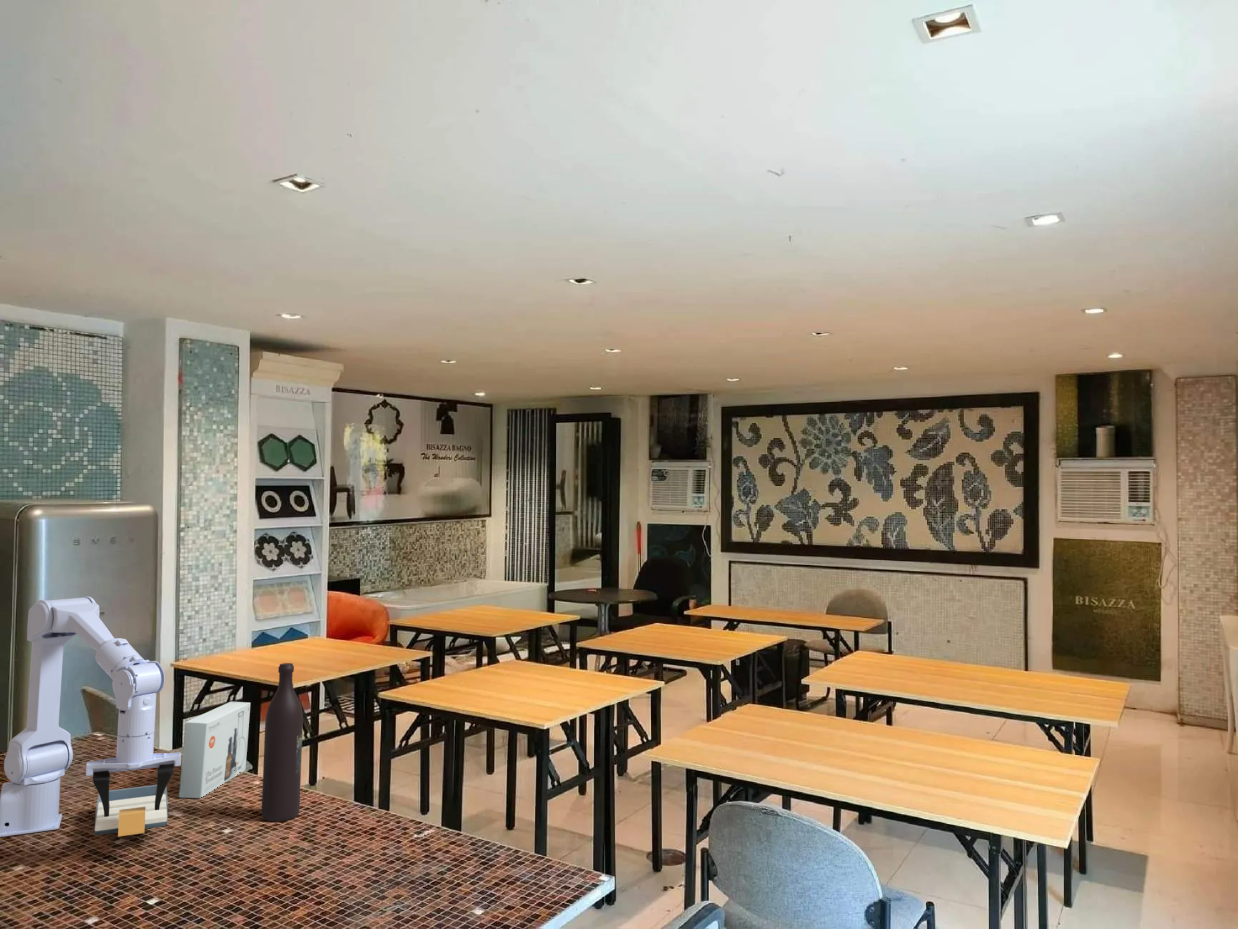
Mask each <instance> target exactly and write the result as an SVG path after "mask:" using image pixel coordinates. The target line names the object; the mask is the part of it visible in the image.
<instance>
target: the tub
mask: <svg viewBox="0 0 1238 929" xmlns="http://www.w3.org/2000/svg"><path fill="white" fill-rule="evenodd" d="M167 786H168V785H167ZM167 786H166V788H165V790H164V793H163V794H166V806H167V816H168V812H169V811H168V810H169V801H168V800H169V799H168V790H167V788H168V787H167ZM156 789H157V784H152V785H145V786H144V785H143V786H136V787H135V786H134V787H128V788H121V789H120V788H119V789H118V788H117V789H112V790H110V789H109V801H114V800H122V799H130V798H138V797H146V796H154V795H156ZM99 802H102V801H101V798H100V795H99V793H98V795H97V801H96V806H95V807H96V808H95V813H94V826H95V825H96V818H97V811H98V805H99ZM166 825H167V826H168V820H167V821H166V822H158V823H151V824H145V829H152V828H159V827H165V826H166ZM93 830H94V834H93V835H94V837H95V836H101V835H109V834H115V833H116V834H117V833H118V828H115V829H108V830H101V831H95V829H93Z"/></svg>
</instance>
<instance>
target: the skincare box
mask: <svg viewBox="0 0 1238 929" xmlns="http://www.w3.org/2000/svg"><path fill="white" fill-rule="evenodd" d="M250 713H251V702H245V701H244V702H243V701H229V702H227V703H224V704H223V705H220V706H217V707H216V708H214V709H211V710H209V711H207V712H205V713H202V714H200V715H197V716H195V717H193V718H191V719H189V720H187V721H185V722H184V732H183V743H182V744H183V747H182V754H181V766H180V768H181V771H180V780H179V791H178V798H181V799H182V798H183V799H184V798H185V799H188V798H189V799H190V798H191V799H202V798H203V796H204V797H205V796H207V795H208V794H210V793H211V792H213V791H214V789H215V790H216V789H218V788H219V787H221V786H222V784H223V785H225V784H226V783H227V782H229V781H230V780H232V779H234V778H235V777H236V776H238V775H240V774H241V773H243V772H244V771H246V765H247V764H246V763H247V756H248V755H247V752H248V741H249V740H248V739H249V727H250V726H249V724H250V716H251V715H250ZM234 770H235V771H234ZM239 772H241V773H239ZM237 774H238V775H237ZM225 782H226V783H225ZM220 785H221V786H220ZM217 787H218V788H217ZM209 792H210V793H209ZM206 794H207V795H206ZM201 797H202V798H201Z"/></svg>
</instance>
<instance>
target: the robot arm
mask: <svg viewBox="0 0 1238 929" xmlns="http://www.w3.org/2000/svg"><path fill="white" fill-rule="evenodd" d="M27 616H28V617H27V629H26V635H27V636H26V641H28V642H31V650H30V651H31V653H30V654H31V655H30V665H29V666H30V668H29V685H28V697H27V698H28V702H27V713H26V714H27V715H26V727H25V728H24V729H23V730H21V731H20V732H19V733H18V734H17V735H15V736H14V737H12V738H11V739H10V740H9V743H8V750H7V753H6V756H5V759H4V762H3V769H4V773H5V776H6V778H7V779H8V780H9V781H8V782H3V784H2V786H1V791H0V838H1V837H9V836H15V835H16V836H17V835H24V834H31V833H39V832H47V831H53V830H54V831H55V830H58V829H59V828H60V827H61V826H60V825H61V822H62V818H63V814H62V813H59V812H60V795H61V794H60V792H61V791H60V790H61V777H64V776H65V774H66V773H65V772H66V771H67V770H68V769H69V768H70V766H71V764H72V762H73V759H74V752H73V751H74V750H73V747H72V741H71V740H72V739H71V736H72V735H71V733H70V732H69V731H67V730H66V729H64V728H63V727H60V726H59V724H60V723H59V722H60V710H61V709H60V707H61V692H62V690H61V689H62V676H63V675H62V674H63V661H64V660H63V658H64V646H65V645H66V644H67V643H68V642H69V641H70V640H71V639H72V638H73V637H75V636H78V637H79V638H81V639H82V641H84V642H85V643H86V644H87V645H88V646H90V647H91V648H92V649H93V650H95V652H96V653H95V655H94V656H95V657H94V658H95V662H96V663H97V664H98V665H99V666H100V668H101V669H102V670H103V671H104V672H105V673H106V674H107V675H108V677H110V679H111V680H112V682H111V686H112V691H113V695H114V697H115V706H116V707H115V708H116V710H117V709H118V717H117V718H118V719H117V737H116V738H117V739H116V755H115V757H110V758H104V759H99V760H91V761H87V762H86V764H85V765H86V766H85V777H91V776H92V782H93V784H94V787H95V788H96V790H97V792H98V793H99V795H100V798H101V801H102V804H103V809H104V817H108V816H109V807H110V805H109V790H110V781H111V780H110V778H111V773H117V772H125V771H126V772H127V771H136V770H145V769H154V768H157V772H156V774H157V775H156V776H157V778H156V785H157V789H156V797H155V810H159V807H160V802H161V799H162V796H163V793H164V790H165V788H166V786H168V784H169V782H170V779H171V777H172V776H173V774H174V770H175V768H174V767H181V766H182V752H180V751H179V752H162V753H161V752H159V753H158V752H156V753H155V752H154V748H155V747H154V746H155V730H156V707H157V694H159V693H160V692H161V691H162V690H163V688H164V686H165V683H166V682H165V679H166V676H165V671H164V668H163V667H162V666H161V663H160V662H159V661H157V660H149V659H144V658H143V657H142V656H141V654H139V653H138V651H136V649H134V647H133V646H132V645H131V644H130V643H129V641H128V640H127V639H126V638H119V637H116V638H115V637H114V635H113V634H112V632H110V630H109V628H107V626H106V625H105V623H104V622H103V621H102V619H101V618H100V605H99V604H97V602H96V601H95V599H94V598H93V597H92V596H83V597H72V598H62V599H59V598H58V599H49V600H47V599H39V600H37V601H36V602H35V603H34V604H33V605H32V606H31V607H30V608H29V609H28V615H27Z"/></svg>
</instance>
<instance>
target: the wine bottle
mask: <svg viewBox="0 0 1238 929" xmlns="http://www.w3.org/2000/svg"><path fill="white" fill-rule="evenodd" d="M294 671H295V666H294V663H291V662H285V663H284V662H283V663H280V664H279V666H278V673H279V674H278V676H279V677H278V678H279V679H278V685H277V689H276V691H275V694H274V695H273V697H272V699H271V701H270V702H269V705H268V707H267V710H266V714H265V721H264V740H263V741H264V744H263V745H264V746H263V764H262V765H263V766H262V767H263V770H262V790H261V791H262V793H261V796H262V797H261V818H262V819H263V820H265V821H268V822H275V823H276V822H285V821H288V820H291V819H295V818H296V817H298V815H299V814H300V805H301V804H300V802H301V783H302V782H301V779H302V751H303V730H304V729H303V727H304V726H303V725H304V717H303V716H304V715H303V708H302V704H301V702H300V699H299V697H298V695H297V694H296V691H295V689H294V685H293V684H294V683H293V676H294V675H293V673H294Z"/></svg>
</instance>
